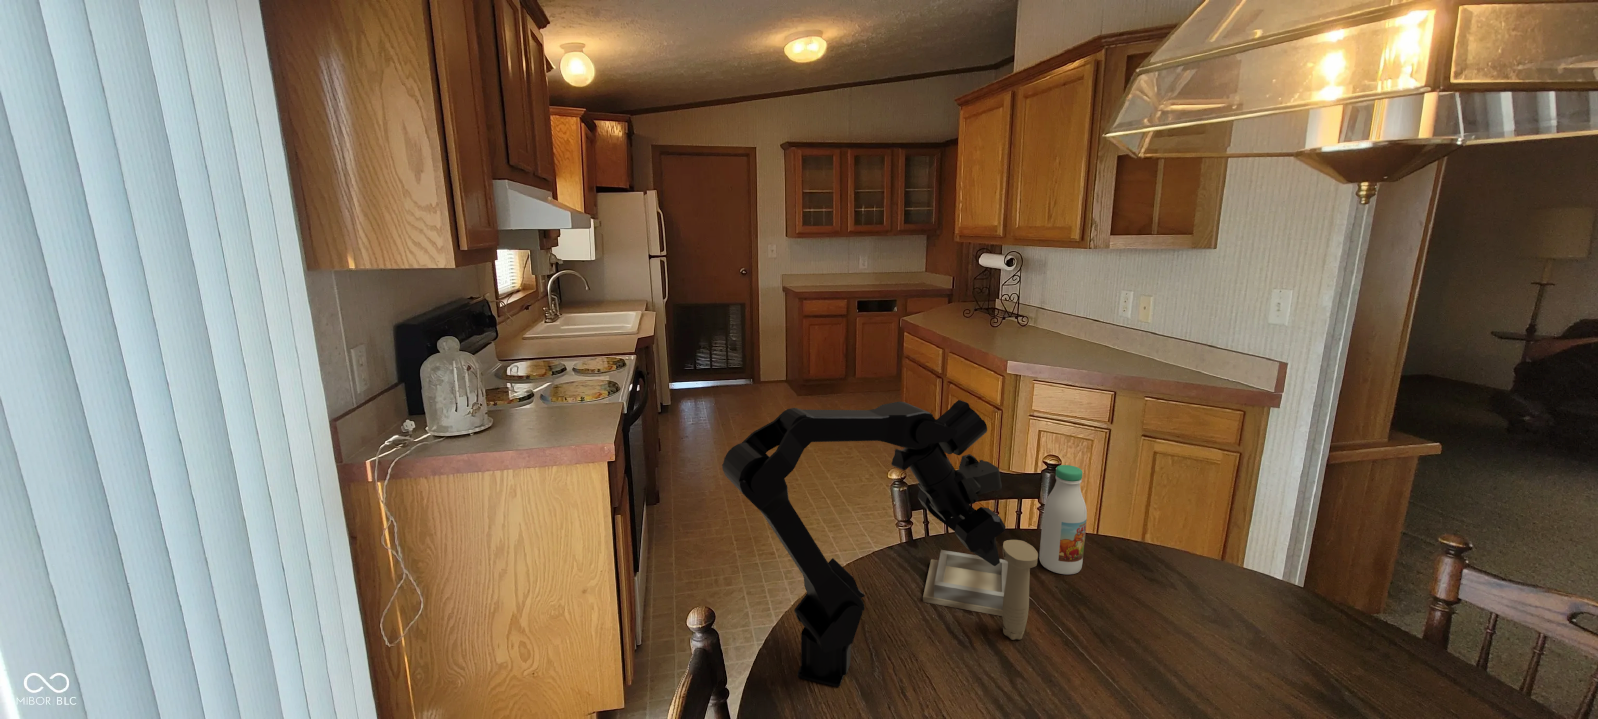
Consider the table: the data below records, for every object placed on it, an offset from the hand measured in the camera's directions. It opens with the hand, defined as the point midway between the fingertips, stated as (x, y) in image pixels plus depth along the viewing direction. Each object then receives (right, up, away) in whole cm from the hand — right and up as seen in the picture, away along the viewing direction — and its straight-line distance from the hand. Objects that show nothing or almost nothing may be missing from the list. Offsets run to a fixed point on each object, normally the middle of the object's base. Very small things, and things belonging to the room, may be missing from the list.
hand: (982, 550), depth 97 cm
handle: (+6, -14, +2) cm, 16 cm away
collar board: (+2, -12, +14) cm, 19 cm away
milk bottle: (+22, -10, +23) cm, 33 cm away
